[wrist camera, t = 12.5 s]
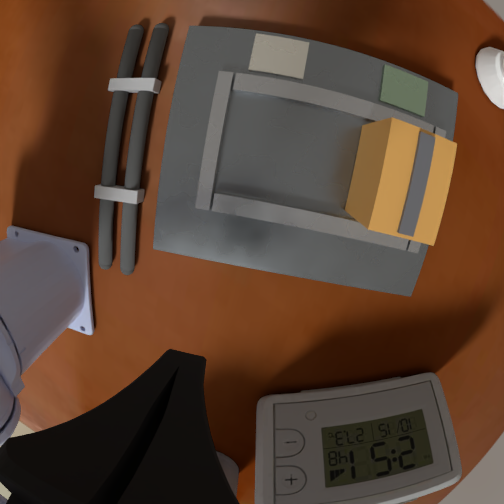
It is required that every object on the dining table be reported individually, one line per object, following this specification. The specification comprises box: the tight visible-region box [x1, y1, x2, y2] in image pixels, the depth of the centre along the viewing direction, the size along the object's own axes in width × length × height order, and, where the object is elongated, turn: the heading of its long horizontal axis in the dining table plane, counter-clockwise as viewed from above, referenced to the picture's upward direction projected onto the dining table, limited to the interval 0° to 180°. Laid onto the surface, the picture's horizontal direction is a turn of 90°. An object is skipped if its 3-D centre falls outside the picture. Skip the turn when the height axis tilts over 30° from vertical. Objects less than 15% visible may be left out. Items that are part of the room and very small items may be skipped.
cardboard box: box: [345, 117, 457, 246], centre depth 13 cm, size 4×5×5 cm
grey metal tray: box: [153, 26, 458, 297], centre depth 16 cm, size 17×14×2 cm
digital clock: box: [255, 372, 462, 504], centre depth 18 cm, size 16×9×11 cm, turn 85°
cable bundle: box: [94, 23, 169, 275], centre depth 17 cm, size 3×17×1 cm, turn 170°
